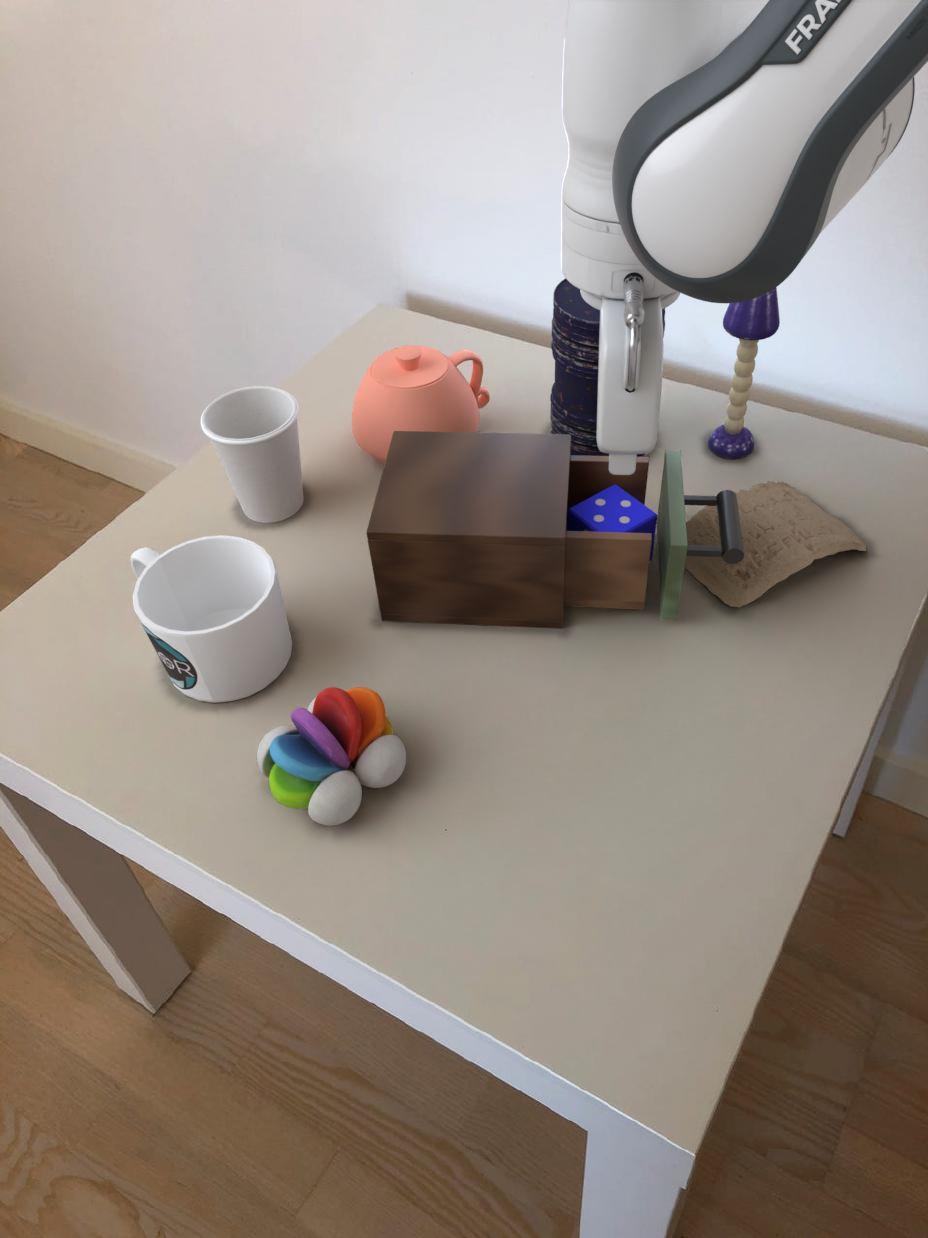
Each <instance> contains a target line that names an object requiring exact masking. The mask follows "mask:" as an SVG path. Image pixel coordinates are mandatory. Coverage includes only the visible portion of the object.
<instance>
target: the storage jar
mask: <svg viewBox="0 0 928 1238" xmlns="http://www.w3.org/2000/svg"><path fill="white" fill-rule="evenodd" d="M552 297H553V298H552V299H553V300H552V301H553V303H552V304H553V305H552V306H553V308H552V318H551V338H552V339H551V342H550V349H551V354H552V358H553V359H554V382H553V384H552V386H551V391H550V396H549V397H550V399H549V401H550V410H549V411H550V413H549V414H550V417H549V418H550V423H551V432H550V434H571V455H588V456H609V453H603V452H601V451H600V450H599V448H598V446H597V439H596V434H597V399H598V364H599V329H600V310H598V309H596V308H594V307H592V306H591V305H589V304H588V303H587V302H586V301H585V300H584V299H583V298H582V296H581V291H580V289H579V288H577V287H575V286H574V285H572V284H571V283H570V282H569V281H568V280H567V279H566V278H565V277H564V279H562V280H561V281H560V282H559V283H557V285H556V287H555V288H554V291H553V296H552ZM665 317H666V308H664V309H662V323H663V339H664V338H665V337H664V336H665V330H666V318H665ZM645 455H646V454H637V457H645Z"/></svg>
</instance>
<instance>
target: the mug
mask: <svg viewBox="0 0 928 1238" xmlns="http://www.w3.org/2000/svg"><path fill="white" fill-rule="evenodd" d="M129 560H130V565H131V568H132V571H133V573H134V575H135V576H136V578H137V580H136V582H135V586H134V589H133V593H132V604H133V605H132V606H133V610H134V612H135V614H136V616H137V618H138V620H139V622H140V624H141V626H142V628H143V630H144V631H145V634H146V635H147V637H148V639H149V641H150V643H151V645H152V647H153V648H154V651H155V653H156V655H157V656H158V658H159V660H160V662H161V664H162V666H163V668H164V670H165V672H166V673H167V676H168V678H169V679H170V681H171V682H172V684H173V686H174V687H175V689H177V690H178V691H179V692H180V693H182V694H183V695H184V696H187V697H189V698H191V699H194V700H196V701H199V702H207V703H215V704H217V703H226V702H233V701H238V700H241V699H244V698H245V699H246V698H248V697H251V696H252V695H254V694H256V693H258V692H261V691H263V690H264V689H265V688H266V687H268V686H269V685H271V684H272V683H273V682H274V681H275V680H277V679H278V677H279V676H280V675H281V673H283V671H284V670H285V669H286V667H287V665H288V663H289V661H290V658H291V656H292V649H293V640H292V635H291V630H290V626H289V621H288V617H287V612H286V607H285V603H284V599H283V594H282V588H281V584H280V580H279V575H278V570H277V566H276V564H275V560H274V558H272V556H271V555H270V554H269V552H268V551H267V550H266V549H265V548H264V547H262V546H261V545H259V544H258V543H257V542H254V541H253V540H249V539H246V538H243V537H240V536H232V535H223V534H220V535H209V536H208V535H207V536H202V537H198V538H194V539H190V540H187V541H186V540H185V541H184V542H182V543H180V544H177V545H175V546H173V547H170V548H169V549H167V550H166V551H164V552H162V553H161V554H160V553H159V552H157V551H156V550H154V549H153V548H150V547H147V546H145V547H140V548H138V549H137V550H135V551H134V552H132V553H131V554H130V559H129Z"/></svg>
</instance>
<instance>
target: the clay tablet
mask: <svg viewBox="0 0 928 1238" xmlns="http://www.w3.org/2000/svg"><path fill="white" fill-rule="evenodd" d="M735 494H736V496H737V503H738V511H739V518H740V526H741V533H742V541H743V548H744V558H743V560H742V561H741V562H739V563H736V564H728V563H726V562H725V561H724V560H723V558H722V557H703V556H686V560H685V567H684V569H686V570H687V571H688V572H689V573H691V575H692V576H693V577H694V578H695V579H696V580H697V581H698V582H700V584H701V585H704V586H705V587H706V588H707V589H708V590H709V592H710V593H711V594H712V595H716V596H717V597H718V598H719V599H720V601H722V603H724V604H725V605H728V606H729V607H732V608H733V607H736V608H741V607H744V606H746V605H747V606H748V605H749V603H752V602H754V601H755V600H757V599H758V598H761V597H762V596H763V594H764V593H766V592H768V590H769V589H771V588H773V587H774V586H776V585H777V583H780V582H783V581H784V580H787V578H788V579H789V578H790V577H789V576H790V575H793V574H795V573H797V572H799V571H801V570H804V569H805V568H806V567H808V566H810V565H812V563H813V562H814V560H819V559H823V558H824V557H828V556H829V555H830V556H834V555H835V554H837V553H839V552H845V551H851V550H857V551H858V552H860V551H861V552H866V551H867V549H866V548H867V547H866V543H865V542H864V540H863V539H861V538H860V537H859V536H858V535H857V534H856V533H854V532H853V531H852V530H851V529H850V527H848V525H846V524H845V523H844V522H843V521H842V520H839V519H837V518H835V516H832V515H830V514H828V513H827V512H826V511H824V510H823V508H821V507H820V506H819V505H817V504H816V503H815V502H813V501H812V500H811V499H809V498H808V497H807V496H805V495H804V493H802V491H800V490H798V489H796V487H795V486H792V485H790V484H789V483H787V482H784V481H778V480H777V481H774V480H766V482H760V483H757V484H755V485H752V487H749V489H741V490H740V489H739V491H737V492H735ZM686 529H687V543H688V546H716V547H721V540H720V531H719V522H718V513H717V504H716V506H704V507H703V508H702V509H700V510H699V511H697V512H696V513H695V514H694V515H693V516H691V518H690V519H689V520H688V521H687V520H686Z"/></svg>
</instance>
